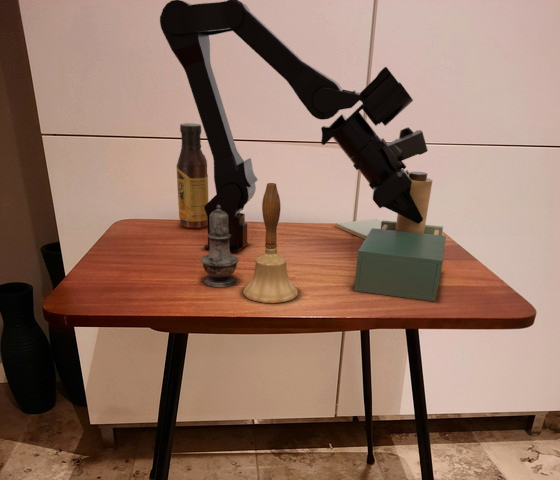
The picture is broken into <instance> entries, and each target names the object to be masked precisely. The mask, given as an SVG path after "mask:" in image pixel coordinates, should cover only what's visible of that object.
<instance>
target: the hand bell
mask: <svg viewBox="0 0 560 480" xmlns="http://www.w3.org/2000/svg"><path fill="white" fill-rule="evenodd" d="M261 203H262V204H261V209H262V210H261V213H262V219H263V223H264V226H265V241H264V243H265V245H264V248H265V249H264V253H263V254H261V255H259V256H257V258H256V259H255V265H254V272H253V275H252V277H251V280H250V281H249V282H248V284H247V285H245V286H244V289H243V290H242V293H243V296H244V297H246V298H247V299H249V300H251V301H254V302H258V303H265V304H279V303H285V302H290V301H292V300H294V299H295V298H296V297H298V295H299V291H298V289H297V287H296V286H295V285H294V284H293V283H292V281H291V280H290V277H289V273H288V267H287V260H286V258H285V257H284V256H283V255H281V254H278V244H277V241H278V239H277V229H278V224H279V221H280V217H281V198H280V194H279V191H278V187H277V183H275V182H268V183H266V187H265V191H264V194H263V197H262V202H261Z"/></svg>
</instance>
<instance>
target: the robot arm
mask: <svg viewBox="0 0 560 480" xmlns="http://www.w3.org/2000/svg"><path fill="white" fill-rule="evenodd" d="M160 13H161V14H160V16H159V25H160V29H161V32H162V33H163V35H164V38H165V40H166V41H167V43H168V45H169V47H170V49H171V52H172V53H173V54H174V56H175V57H176V59H177V60H178V62H179V64H180V65H181V67H182V68H183V70H184V72H185V75H186V78H187V81H188V84H189V88H190V91H191V93H192V96H193V100H194V103H195V106H196V109H197V112H198V115H199V118H200V121H201V124H202V125H201V126H202V127H203V131H204V134H205V137H206V140H207V143H208V147H209V149H210V152H211V155H212V160H213V181H214V187H215V188H214V189H215V192H216V194H215V195H214V196H213V197H212V198H211V199H210V200H208V203H207V204H206V205H205V206H204V209H205V212H206V214H207V226H206V227H207V235H208V234H209V233H210V225H209V215H210V213H211V212H213V211H215V210H217V205H218V204H219V205H220V207H221V208H220V209H221V210H222V211H224V212H226V213H227V214H228V219H229V234H231V237H230V238H229V249H230V253H233V254H237V253H239V252H240V251H241V250H243V249H244V248H245V247H247V246H248V244H249V243H248V223H247V222H246V214H245V213H243V212H241V211H243V210H244V208H245V205H247V204H248V202H250V200H252V199H253V197H254V195H255V193H256V189H257V188H256V183H257V182H258V178H257V176H256V175H255V172H254V169H253V162H252V158H251V157H249V158H246V159H245V160H244V159H243V158H242V156H241V154H240V153H239V152H238V151H239V150H238V149H237V146H236V142H235V140H234V136H233V133H232V130H231V126H230V123H229V120H228V117H227V114H226V111H225V107H224V103H223V101H222V97H221V94H220V89H219V87H218V83H217V80H216V77H215V74H214V71H213V67H212V64H211V63H212V62H211V42H210V36H215V35H221V34H225V33H229V32H233V33H234V34H236V36H238V37H239V38H240V39H241V40H242V41H243V42H244V43H245V44H246V45H247V46H249V48H250V49H251V50H253V51H254V53H256V54H257V55H258V56H259V57H260V58H262V60H264V62H266V63H267V64H268V65H269V66H270V67H271V68H272V69H273V70H274V71H275V72H276V73H278V74H279V75H280V76H281V77H282V78H283V79H284V80H285V81H286V82H287V84H288V85H289V86H290V87H291V89H292V90H293V91H294V93H295V95H296V96H297V98H298V100H300V102H301V104H303V106H304V107H305V108H306V110H307V112H309V114H311V116H312V117H314V118H315V119H317V120H320V121H321V120H323V121H324V120H330V119H331V118H334V117H335V115H336V114H338V113H339V112H340V111H343V110H348V109H352V108H354V106H355V105H356V104H357V103H359V102H361V104H360V105H359V106H358V107H357V108H356V109H355V110H353V112H352V113H350V115H348V116H347V117H346V116H345V115H344V114H340V115H339V116H338V117H337V118H336V119H335V120H334V121H333V122H332V123H331V124H330V125H327V126H326V125H323V126H321V128H320V130H321V140H320V144H321V145H322V146H325V145H326V144H328V142H329V141H331V139H333V140H334V142H336V144H337V145H338V147H340V149H341V150H342V151H343V152H344V153H345V156H347V158H348V159H349V160H350V161H351V163H352V166H353V167H354V169H355V170H356V171H359V173H360V174H361V175H362V176H363V177H364V178H365V180H366V181H367V182H368V186H369V187H370V189H371V190H372V201H373V202H374V204H375V205H376V206H377V207H378V208H379V209H382V208H385V209H387V210H389V211H392V212H394V213H395V214H400V215H402V216H404V217H406V218H408V219H410V220H412V221H414V222H416V223H418V224H419V223H420V222H421V221H423V218H422V216H421V214H420V212H419V210H418V208H417V206H416V204H415V202H414V200H413V198H412V196H411V194H410V190H411V185H412V180H411V178H410V177H409V172H410V171H409V170H408V169H407V164H406V163H405V162H404V161H405V160H407V159H411V158H412V157H415V156H418V155H420V156H421V155H423V154H426V153H427V152H428V151H429V150H428V146H427V143H426V140H425V135H424V132H423V131H422V130H421V129H419V130H418V129H417V130H415V131H413V130H412V129H411V128H410V127H409V126H407V127H405V128H403V129H400V131H399V135H398V138H395V139H394V140H392V141H390V142H387V141H386V140H385V139H384V138H381V137H379V135H378V134H377V132H376V131H375V130H374V128H373V127H372V126H371V125H370V123H369V122H368V121H367V120H366V119H365V117H364V116H363V115H362V113H361V111H363V112H364V113H365V115H366V116H367V118H368V119H369V120H370V121H371V122H372V124H374V125H375V127H377V126H378V125H380V124H382V125H383V126H384V127H386V126H387V125H389V124H390V123H391V122H392V121H393V120H394V119H395V118H396V117H397V116H398V115H399V114H400V113H402V112H403V111H404V110H405V109H406V108H407V107H408V106H410V104H411V103H412V102H414V99H413V98H412V96H411V95H410V94H409V92H408V91H407V89H406V88H405V87H404V86H403V84H402V83H401V82H400V81H398V80H397V79H396V77H395V76H394V75H393V73H392V72H391V71H390V69H389V68H388V67H387V66H384V67H383V68H382V69H381V70H380V71H379V72H378V74H377V75H376V77H375V78H374V79H373V80H372V81H370V83H369V84H368V85H367V86H366V87H365V88H363V90H361V91H360V92H357V91H356V89H354V90H347V89H343V88H342V86H341V84H340V83H338V82H337V81H336V80H334V79H333V78H331V77H329V76H328V75H327V74H325V73H323V72H322V71H320V70H319V69H317V68H315V67H313V66H312V65H310V64H308V63H307V62H306V61H304V60H302V58H301V57H299V56H298V54H296V53H295V52H294V51H293V50H292V49H291V47H288V45H287V44H286V43H284V41H282V40H281V39H280V38H279V37H278V35H276V33H274V32H273V31H272V30H271V29H270V28H268V27H267V26H266V24H264V23H263V22H262V21H261V20H260V19H259V17H257V16H256V15H255V14H254V13H253V12H252V11H251V10H250V9H249V7H248V6H247V4H245V3H244V2H243V1H241V0H223V1H217V2H216V1H215V2H203V3H202V2H201V3H194V4H192V3H189V2H187V1H184V0H170V1H169V2H167V3H165V5H164V7H163V8H162V11H161V12H160ZM406 169H407V170H406ZM203 249H204V250H208V251H209V249H210V242H209V237H208V236H207V244H206V245H204V248H203Z"/></svg>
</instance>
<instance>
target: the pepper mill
mask: <svg viewBox="0 0 560 480" xmlns="http://www.w3.org/2000/svg"><path fill="white" fill-rule="evenodd" d="M408 172H409V177H410V178H411V180H412V185H411V190H410V194H411V196H412V198H413V200H414V202H415V204H416V206H417V208H418V210H419V212H420V214H421V216H422V218H423V221H421V222H420V223H419V224H418V223H416V222H414V221H412V220H410V219H408V218H406V217H404V216H402V215H400V214H398V213H396V214H397V215H396V221H395V222H396V229H395V231H403V232H412V233H422V234H424V230H425V225H427V224H426V223H427V216H428V211H429V204H430V199H431V192H432V186H433V179H431V178H428V173H427V172H424V171H408Z"/></svg>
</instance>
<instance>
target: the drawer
mask: <svg viewBox="0 0 560 480" xmlns="http://www.w3.org/2000/svg"><path fill="white" fill-rule="evenodd" d="M381 221H382V222H381V229H384V230H393V231H395V229H396V222H397V221H391V220H381ZM443 231H444V226H443V225H442V226H441V225H433V224H432V225H431V224H425V230H424V234H431V235H441V236H443Z"/></svg>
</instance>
